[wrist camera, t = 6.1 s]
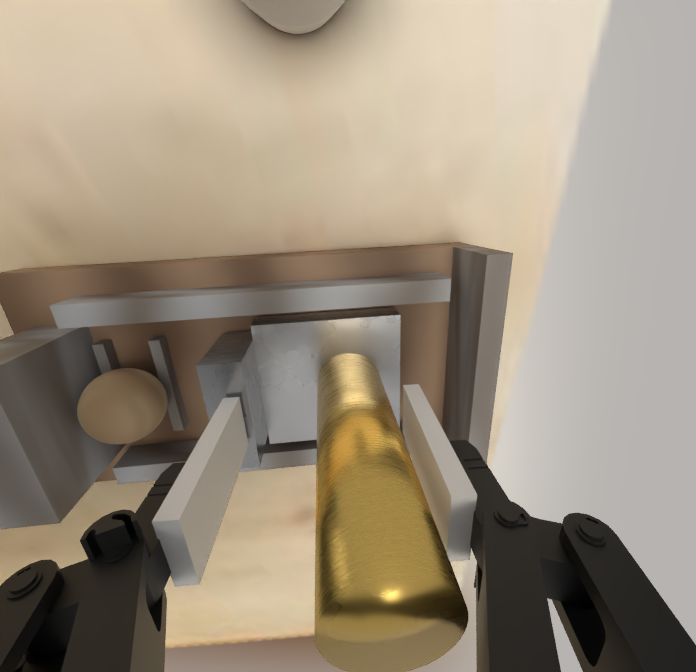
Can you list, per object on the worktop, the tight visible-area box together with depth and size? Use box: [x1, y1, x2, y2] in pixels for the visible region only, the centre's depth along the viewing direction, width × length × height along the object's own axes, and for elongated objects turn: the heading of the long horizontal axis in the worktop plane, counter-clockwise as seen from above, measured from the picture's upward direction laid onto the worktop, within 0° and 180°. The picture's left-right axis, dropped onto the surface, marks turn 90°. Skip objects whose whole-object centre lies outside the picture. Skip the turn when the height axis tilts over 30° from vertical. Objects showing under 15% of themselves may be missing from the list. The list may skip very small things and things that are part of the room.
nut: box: [77, 368, 168, 444], centre depth 18 cm, size 4×4×4 cm
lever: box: [196, 307, 468, 672], centre depth 14 cm, size 10×8×14 cm
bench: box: [0, 243, 513, 529], centre depth 18 cm, size 26×14×8 cm, turn 93°
